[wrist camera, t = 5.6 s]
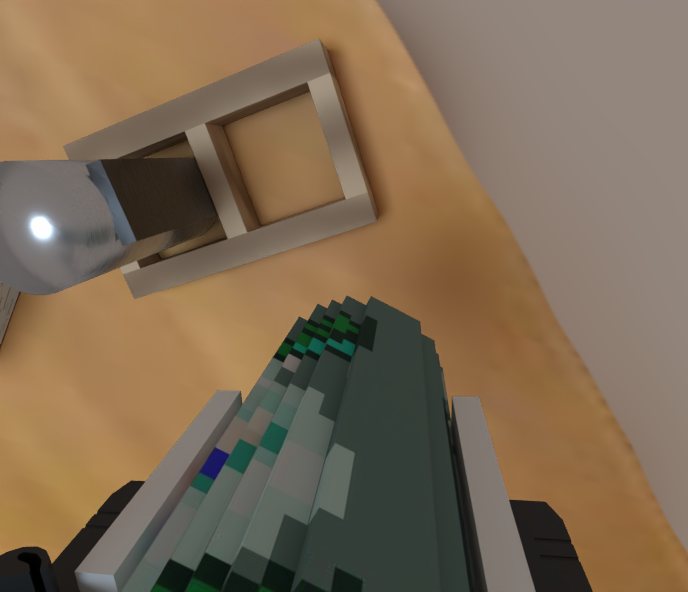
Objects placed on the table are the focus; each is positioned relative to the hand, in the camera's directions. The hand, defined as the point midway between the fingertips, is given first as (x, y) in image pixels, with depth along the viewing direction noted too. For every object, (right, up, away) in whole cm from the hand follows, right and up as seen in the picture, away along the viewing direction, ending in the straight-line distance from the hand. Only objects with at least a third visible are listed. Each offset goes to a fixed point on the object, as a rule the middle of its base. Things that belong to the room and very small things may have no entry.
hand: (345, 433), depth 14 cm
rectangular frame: (-8, +13, +20) cm, 25 cm away
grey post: (-12, +11, +21) cm, 27 cm away
